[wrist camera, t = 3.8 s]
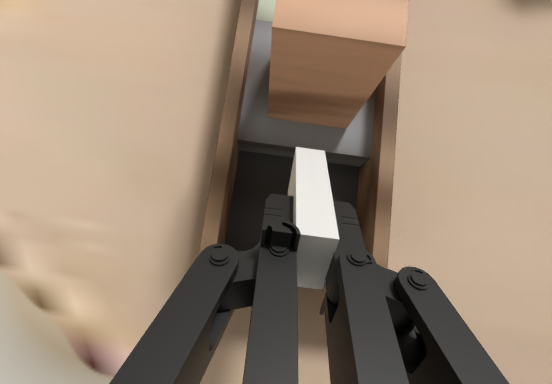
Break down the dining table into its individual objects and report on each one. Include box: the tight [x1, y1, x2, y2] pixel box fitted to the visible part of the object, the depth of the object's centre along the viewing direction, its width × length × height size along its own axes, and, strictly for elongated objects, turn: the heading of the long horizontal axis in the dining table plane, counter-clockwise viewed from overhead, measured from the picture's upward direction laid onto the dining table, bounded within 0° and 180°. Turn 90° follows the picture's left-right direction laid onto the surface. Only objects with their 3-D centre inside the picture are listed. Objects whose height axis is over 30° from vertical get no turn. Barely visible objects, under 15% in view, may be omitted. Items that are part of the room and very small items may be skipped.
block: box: [268, 0, 409, 129], centre depth 20 cm, size 6×6×10 cm
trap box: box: [198, 0, 402, 269], centre depth 26 cm, size 38×12×5 cm, turn 173°
